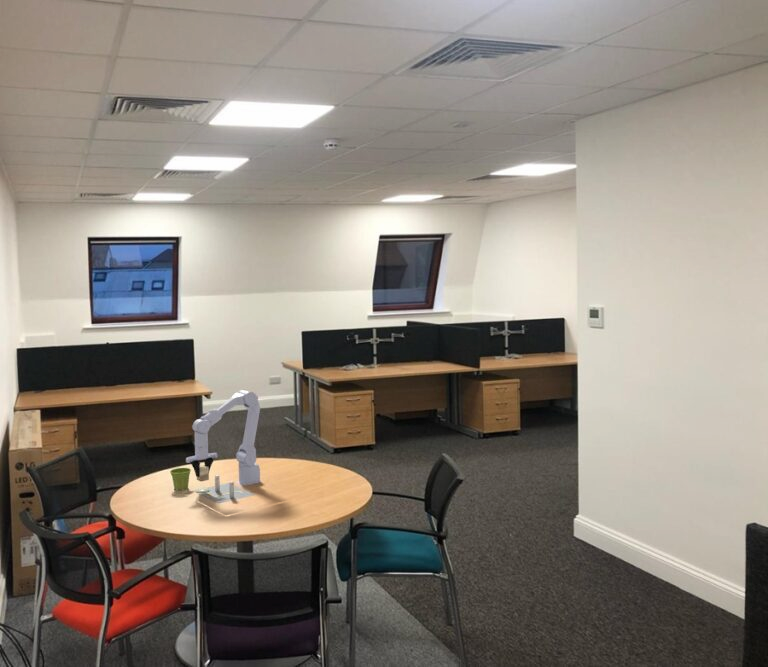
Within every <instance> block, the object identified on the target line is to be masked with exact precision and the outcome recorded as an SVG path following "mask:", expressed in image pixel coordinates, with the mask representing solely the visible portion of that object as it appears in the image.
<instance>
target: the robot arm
mask: <svg viewBox="0 0 768 667" xmlns="http://www.w3.org/2000/svg"><path fill="white" fill-rule="evenodd" d="M237 406H244V407H245V409H246V410H247V416H246V421H245V426H244V431H243V433H244V434H243V438H242V443H241V444H240V445H239V448H238V451H237V452H236V455H235V458H236V461H237V462H238V481H235V484H239V485H241V486H249V485H254V484H257V483H261V469H260V465H259V463H256V462H257V450H256V447H255V442H256V436H257V430H258V424H259V419H260V418H259V417H260V412H261V406H260V403H259V397H258V395H257V394H256V393H255V392H254V391H250V390H249V391H248V390H245V389H240V390H238V391H237V392H235V393H234V394H233V395H232V396H231V397H230V398H229V399H227V401H225V402H224V403H223V404H222V405H220V407H218V408H213V409H209V410H208V412H207V413H206V414H205V415H203V416H202V415H201V417H200V418H199V419H198V418H197V419H196V420H195V421H193V423H192V425H191V428H192V430H193V431H194V454H195V455H192V456H188V457H186V458H185V463H187V464H188V463H189V464H190V465H191V467H192V468H193V470H194V474H195V476H196V478H197V477H199V468H200V466H201V463H200V462H199V461H203V463H204V465H205V466H208V467H209V472H210V471H211V467H212V465H213V463H214V459H216V458H218V453H217V452H210V453H209V440H208V439H209V437H208V436H209V435H208V434H209V431H210V428H211V427H212V426H214V425H215V424H217V422H219V421H220V420H222V417H223V415H224V414H225V413H227V412H229V411H230V410H231V409H233V408H235V407H237Z"/></svg>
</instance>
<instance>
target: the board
mask: <svg viewBox="0 0 768 667" xmlns="http://www.w3.org/2000/svg"><path fill="white" fill-rule="evenodd" d="M220 483H221V482H220V475H218V474H216V475H215V476H214V485H213V486H209V487H207V488H208V489H210V491H209V492H206V493H198V494H199V495H201V496H203V497H205V498H208V499H209V500H211V501H212V502H213V501H214V502H215V503H217V504H221V503H225V502H230V501H234V500H238V499H239V500H240V499H243V498H247V497H252V496H256V494H255V493H253V492H251V491H248V490H245V489H243V488H241V487H239V486H237V485H235V482H234V481H229V482H228V483H221V484H220ZM196 490H197V489H194V490H193V492H195V493H197V492H196Z"/></svg>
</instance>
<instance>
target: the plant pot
mask: <svg viewBox="0 0 768 667" xmlns="http://www.w3.org/2000/svg"><path fill="white" fill-rule="evenodd" d="M191 471H192V469H191V468H189V467H177V468H173V469H170V471H169V473H170V475H171V477H172V483H173V488H174V490H175V491H178V490H179V491H184V490H187V489H189V482H190V474H191Z"/></svg>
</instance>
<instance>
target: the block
mask: <svg viewBox="0 0 768 667" xmlns="http://www.w3.org/2000/svg"><path fill="white" fill-rule="evenodd" d="M196 480H197V481H199V482H205V481H210V471H209V467H208V466H205V464H204V465H200V468H199V477H196Z"/></svg>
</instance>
